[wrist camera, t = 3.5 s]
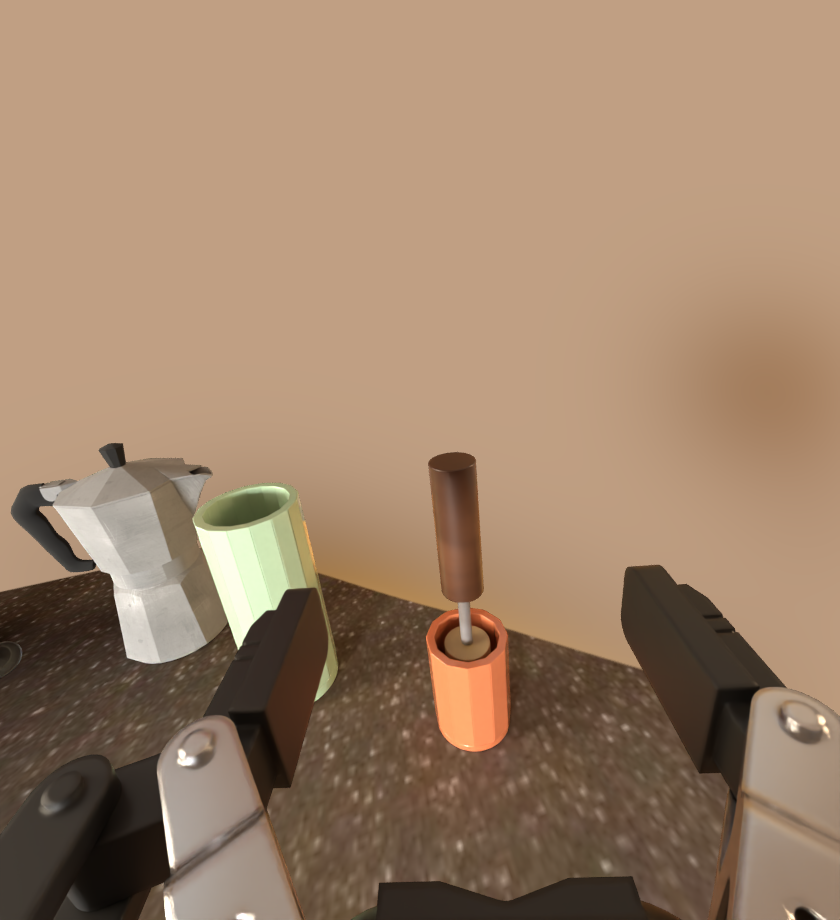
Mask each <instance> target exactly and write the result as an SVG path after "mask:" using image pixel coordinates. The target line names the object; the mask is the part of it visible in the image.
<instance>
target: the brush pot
mask: <svg viewBox="0 0 840 920" xmlns="http://www.w3.org/2000/svg"><path fill="white" fill-rule="evenodd" d="M470 612H471V625H472V626H476V627H478V628H480V629H482V630H483V631H485V632H486V634H487V635H488V637H489V639H490V646H491V653H490V654H489V655H488V656H487V657H486V658H484V659H480V660H476V661H472V662H463V661H458V660H453V659H449V658H448V657H447V656H446V655H445V646H444V641H445V638H446V636H447V634H448V633H449V632H450V631H451V630H452V629H454V628H456V627H459V626H460V622H459V611H458V609H455V610H450V611H447V612H445V613H444V614H442V615H441V616H440V617H438V618H437V619H436V620H434V621H433V622H432V624H431V626H430V629H429V631H428V634H427V636H426V642H427V649H428V657H429V665H430V672H431V680H432V688H433V695H434V703H435V710H436V715H437V720H438V725H439V728H440V730H441V732H442V734H443V735H444V737H445V738H446V739H447V740H448V741H449V742H450V743H451V744H453V745H454V746H456V747H458V748H460V749H463V750H466V751H483V750H487V749H490V748H492V747H494V746H495V745H497V744H498V743H499V742H500V741H501V740H502V739H503V738H504V736H505V735H506V733H507V731H508V728H509V724H510V711H511V706H510V678H509V651H508V634H507V632H506V630H505V628H504V626H503V624H502V623H501V621H500V619H498V618H497V617H495V616H493V615H492V614H490V613H489V612H487V611H485V610H481V609H474V608H470Z"/></svg>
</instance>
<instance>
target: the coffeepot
mask: <svg viewBox="0 0 840 920" xmlns="http://www.w3.org/2000/svg"><path fill="white" fill-rule="evenodd" d="M99 452H100V453H101V455H102V456H103V458H104V459H105V460H106V462H107V463H108V465H109V466H110V467H108V468H106V469H103V470H101V471H99V472H97V473H95V474H92V475H90V476H88V477H86V478H84V479H82V480H79V481H76V480H73V479H66V480H59V481H52V482H50V483H46V484H44V483H42V484H33V485H27V486H25V487H23V488H21V489H20V491H19V493H18V495H17V497H16V499H15V502H14V503H13V506H12V508H11V514H12V516H13V518H14V519H15V521H16V522H17V523H18V524H19V525H20V526H22V527H23V528H24V529H25V530H26V531H27V532H28V533H29V534H30V535H31V536H32V537H33V538H35V539H36V540H37V541H38V542H39V543H40V545H42V546H43V547H44V548H45V549H46V550H47V552H49V553H50V554H51V555H52V556H53V557H54V558H55V559H56V560H57V561H58V562H59V563H60V564H61V565H62V566H64V567H65V569H66V570H68V571H70V572H84V571H89V570H93V569H94V568H95V567H96V565H97V566H98V567H99V569H100V570H101V571H102V572H105V573H109V574H110V575H111V577H112V579H113V582H114V597H115V602H116V606H117V611H118V616H119V621H120V626H121V630H122V635H123V640H124V645H125V649H126V654H127V658H130V659H133V660H136V661H140V662H143V663H152V664H155V663H164V662H168V661H172V660H176V659H178V658H181V657H184V656H186V655H188V654H190V653H192V652H194V651H196V650H198V649H200V648H201V647H203V646H204V645H206V644H207V643H209V642H210V641H211V640H212V639H214V638H215V637H216V636H217V635H218V634H219V633H220V632H221V631H222V630H223V628H224V627H225V626H226V624H227V623H228V620H227V617H226V614H225V611H224V608H223V606H222V603H221V600H220V597H219V594H218V591H217V588H216V586H215V583H214V580H213V577H212V574H211V571H210V569H209V566H208V563H207V560H206V557H205V555H204V553H203V551H202V550H201V549H200V548H199V547H198V544H197V533H196V529H195V526H194V523H193V520H192V519H193V517H194V514H195V511H196V507H197V504H198V501H199V497H200V494H201V491H202V489H203V486H204V484H205V481H206V480H207V479H208V478H210V477H211V476H212V475H213V473H212V471H211V470H210V469H209V468H208V467H201V465H185V463H184V460H183V458H149V459H143V460H138V461H132V462H126V461H125V454H124V448H123V444H122V443H121V444H120V443H111V444H107V445H106V446H104V447H102V448H100V449H99ZM40 506H53V507H55V509H56V510H57V512H58V513H59V514H60V516H61V517H62V518H63V520H64V521H65V523H66V524H67V525H68V527H69V528H70V529H71V531H72V532H73V533H74V534H75V536H76V537H77V539H78V540H79V541H80V543H81V544H82V546H83V547H84V548H85V550H86V551H87V552H88V554H89V555H90V556H91V558H92V559H93V560H82V559H79V558H77V557H76V556H75V555H74V553H73V551H72V548H71V546H70V545H69V543H68V542H67V541H66V540H65V539H64V538H63V537H61V536H60V535H58V533H56V531H55V530H54V528H53V527H52V525H51V524H50V522H49V521H48V520H47V518H46V517H45V516H44V515H43V514H42V513H41V512H40V511H39V507H40Z"/></svg>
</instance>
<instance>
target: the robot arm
mask: <svg viewBox="0 0 840 920" xmlns="http://www.w3.org/2000/svg"><path fill="white" fill-rule="evenodd" d="M621 622H622V628H623V631H624V635H625V637H626V640H627V642H628V644H629V645H630V647H631V649H632V651H633V652H634V655H635V656H636V658H637V660H638V662H639V664H640V666H641V667H642V669H643V671H644V673H645V675H646V677H647V678H648V680H649V682H650V684H651V686H652V688H653V689H654V691H655V693H656V695H657V697H658V699H659V700H660V702H661V704H662V706H663V708H664V710H665V711H666V713H667V715H668V717H669V719H670V721H671V722H672V724H673V726H674V728H675V730H676V732H677V733H678V735H679V737H680V739H681V741H682V743H683V744H684V746H685V748H686V750H687V752H688V753H689V755H690V757H691V759H692V761H693V763H694V764H695V766H696V768H697V770H698V772H699V773H721V774H722V776H723V777H724V779H725V781H726V782H727V784H728V786H729V789H728V793H727V797H726V805H725V812H724V819H723V826H722V833H721V840H720V848H719V855H718V862H717V869H716V876H715V883H714V890H713V896H712V901H711V906H710V911H709V916H708V920H840V716H839V715H838V714H836V713H835V712H834V711H833V710H832V709H830V708H829V707H828V706H826V705H825V704H823V703H822V702H820V701H818V700H817V699H815V698H812V697H810V696H809V695H806V694H804V693H802V692H799V691H796V690H792V689H788V688H786V686H785V685H784V684H783V683H782V682H781V681H780V680H779V679H778V677H777V676H776V675H775V674H774V673H773V672H772V670H771V669H770V668H769V667H768V666H767V665H766V664H765V662H764V661H763V660H762V659H761V658H760V657H759V656H758V655H757V653H756V652H755V651H754V650H753V649H752V648H751V646H749V644H748V643H747V642H746V641H745V640H744V638H743V637H742V636H741V635H740V634H739V633H738V632H735V628H734V627H733V626H732V625H731V624H730V623H729V621H728V620H727V619H726V618H723V615H722V613H721V612H720V611H719V610H718V609H717V608H716V607H715V605H714V604H713V603H712V602H711V601H710V600H709V599H708V598H707V597H706V596H704V595H703V594H701V593H699V592H698V591H696V590H695V589H693V588H692V587H690V586H689V585H687V584H681V585H677V584H676V582H675V581H674V580H673V579H672V578H671V576H670V575H669V574H668V573H667V571H666V570H665V569H664V568H663V567H662V566H660V565H649V566H633V567H627V569H626V571H625V577H624V588H623V598H622V608H621ZM327 654H328V631H327V626H326V622H325V618H324V614H323V609H322V605H321V601H320V597H319V593H318V590H317V589H316V588H315V587H311V588H297V589H287V590H286V591H285V592H284V594H283V596H282V598H281V600H280V602H279V605H278V607H277V609H276V610H266V611H265V612H264V613H263V614H262V615H261V616H260V617H259V618H258V619H257V620H256V621H255V622H254V623H253V624H252V625H251V627H250V629H249V631H248V632H247V634H246V636H245V638H244V640H243V642H242V646H240V648H239V650H238V651H237V653H236V655H235V660H233V661H232V663H231V665H230V667H229V669H228V670H227V672H226V674H225V676H224V678H223V680H222V682H221V684H220V686H219V688H218V689H217V691H216V693H215V695H214V697H213V699H212V701H211V703H210V705H209V707H208V708H207V710H206V712H205V714H204V716H203V718H200V719H197V720H195V721H193V722H191V723H190V724H188V725H187V726H185V727H184V728H183V729H181V730H180V731H179V732H178V733H177V734H176V735H174V736H173V738H172V739H171V740H170V741H169V742H168V743H167V745H166V746H165V748H164V749H163V751H162V753H160V754H157V755H155V756H152V757H149V758H146V759H143V760H140V761H138V762H135V763H132V764H129V765H126V766H123V767H121V768H118V769H115V770H114V769H113V767H112V765H111V763H110V762H109V760H108V759H107V758H106V757H104V756H102V755H87V756H83V757H80V758H77V759H75V760H73V761H70V762H69V763H67V764H65V765H63V766H61V767H60V768H58V769H57V770H55V771H54V772H53V773H51V774H50V775H49V776H47V777H46V778H45V779H44V780H43V781H42V782H41V783H40V784H39V785H38V786H37V787H36V788H35V789H34V790H33V791H32V792H31V793H30V795H29V796H28V797H27V798H26V800H25V801H24V803H23V804H22V805H21V807H20V808H19V809H18V811H17V812H16V813H15V815H14V816H13V818H12V819H11V820H10V822H9V823H8V824H7V826H6V827H5V828H4V830H3V831H2V833H1V834H0V920H138V919H139V916H140V914H141V912H142V909H143V907H144V904H145V902H146V900H147V897H148V895H149V892H150V890H151V888H152V887H154V886H156V885H159V884H161V883H163V882H164V904H165V912H166V920H306V919H305V916H304V913H303V910H302V908H301V905H300V902H299V899H298V896H297V894H296V891H295V888H294V885H293V882H292V879H291V877H290V874H289V871H288V868H287V865H286V862H285V860H284V857H283V854H282V851H281V848H280V845H279V843H278V840H277V837H276V834H275V831H274V828H273V825H272V823H271V820H270V817H269V814H268V811H267V806H268V802H269V799H270V796H271V793H272V790H273V788H290V787H291V784H292V780H293V777H294V773H295V769H296V766H297V762H298V759H299V755H300V752H301V748H302V744H303V741H304V737H305V734H306V730H307V726H308V723H309V719H310V716H311V712H312V709H313V705H314V701H315V698H316V694H317V691H318V687H319V684H320V680H321V676H322V673H323V669H324V666H325V662H326V658H327ZM351 920H681V919H680V918H678V917H676V916H674V915H673V914H671V913H669V912H668V911H665V910H663V909H661V908H659V907H656V906H654V905H652V904H650V903H646V902H643V901H640V898H639V895H638V892H637V889H636V886H635V883H634V880H633V877H632V876H629V877H590V878H567V879H565V880H562V881H560V882H557V883H555V884H552V885H549V886H547V887H544V888H542V889H539V890H537V891H534V892H532V893H529V894H526V895H524V896H521V897H519V898H516V899H514V900H510V901H501V900H497V899H494V898H491V897H488V896H484V895H481V894H478V893H475V892H472V891H469V890H466V889H462V888H459V887H456V886H453V885H450V884H447V883H443V882H440V881H432V882H392V883H379V890H378V902H377V906H376V907H373V908H371V909H368V910H366V911H364V912H363V913H361V914H359V915H357V916H356V917H354V918H352V919H351Z"/></svg>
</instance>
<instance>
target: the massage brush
mask: <svg viewBox="0 0 840 920" xmlns="http://www.w3.org/2000/svg"><path fill="white" fill-rule="evenodd" d="M21 657H22V649H21V647H20V646H19V645H18V644H17V643H14V642H9V641H7V642H1V643H0V678H1V677H4V676H6V675H7V674H9V673H10V672H11V671H13V670H14V669H15V668H16V666H17V665H18V664H19V662H20V660H21Z"/></svg>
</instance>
